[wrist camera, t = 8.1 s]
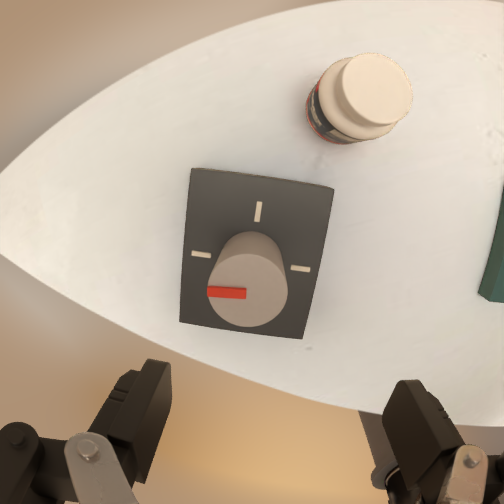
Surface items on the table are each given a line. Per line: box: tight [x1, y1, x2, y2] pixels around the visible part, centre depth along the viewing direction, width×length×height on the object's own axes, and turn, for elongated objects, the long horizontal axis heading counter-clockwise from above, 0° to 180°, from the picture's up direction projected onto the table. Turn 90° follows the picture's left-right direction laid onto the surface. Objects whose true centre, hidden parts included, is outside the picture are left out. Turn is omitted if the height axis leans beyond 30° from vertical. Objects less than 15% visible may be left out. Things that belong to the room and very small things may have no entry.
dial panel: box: [179, 168, 334, 339], centre depth 23 cm, size 12×10×3 cm
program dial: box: [207, 231, 288, 327], centre depth 19 cm, size 4×4×6 cm
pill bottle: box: [306, 53, 413, 144], centre depth 16 cm, size 5×5×9 cm
